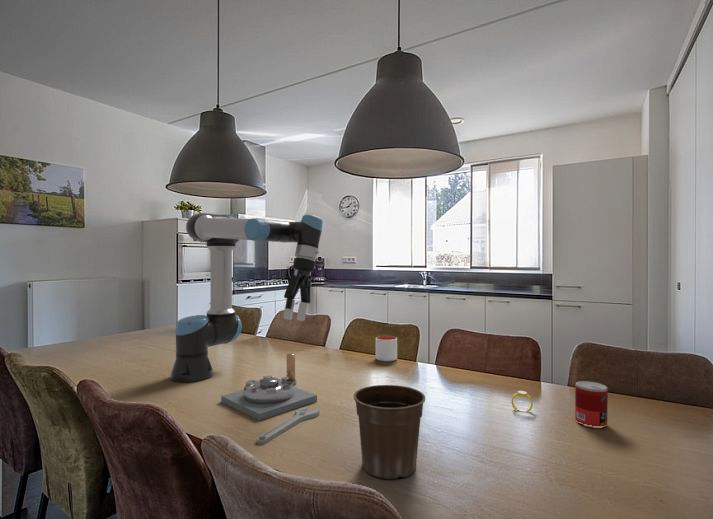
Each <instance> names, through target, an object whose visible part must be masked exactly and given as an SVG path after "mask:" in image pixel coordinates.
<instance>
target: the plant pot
mask: <svg viewBox="0 0 713 519" xmlns="http://www.w3.org/2000/svg"><path fill="white" fill-rule="evenodd" d="M353 399H354V401H355V407H356V408H355V409H356V414H357V417H358V423H359V437H360V448H361V449H360V450H361V466H362V468H364V470H365V472H366V473H367V474H369V475H371V476H373V477H375V478H379V479H383V478H384V479H383V480H396V479H397V478H399V477H401V478H404V477H405V478H407V477H409V476H411V475H412V474H413V473H414V472H416V470H417V469H416V468H417V459H418V457H417V456H418V448H419V438H420V437H419V436H420V427H421V419H422V417H423V409H424V408H423V407H424V403H425V402H426V395H425V394H424V393H423V392H421V391H420V390H419V389H415V388H412V387H408V386H404V385H396V384H395V385H393V384H377V385H370V386H369V385H368V386H366V387H362V388H359V389H358V390H356V391H354V393H353Z"/></svg>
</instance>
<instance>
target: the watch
mask: <svg viewBox="0 0 713 519" xmlns="http://www.w3.org/2000/svg"><path fill="white" fill-rule="evenodd" d="M517 396H521V397H527V398H528V399H529V400H530V403H531V404H530V406H529V408H527V409H526V410H527V411H529V412H531V410H532V409H533V404H534V403H533V399H532V397H531V395H529V394H528V392H527V391H524V390H517V391H516V392H515V393H514V394H513V395H512V396H511V397H512V398H511V406H512V408H513V409H514V410H515V411H516V410H517V409H518V407H517V406H516V405H515V403H514V399H515V397H517Z"/></svg>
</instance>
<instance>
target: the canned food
mask: <svg viewBox="0 0 713 519" xmlns="http://www.w3.org/2000/svg"><path fill="white" fill-rule="evenodd" d="M574 387H575V390H574V392H575V394H574V396H575V398H574V400H575V403H574V404H575V406H574V407H575V410H574V411H575V412H574V414H575V416H574V418H575V421H576V420H577V421H578V422H581V423H583V424H587V425H592V426H605V425H607V426H608V405H609V404H608V400H609V399H608V395H609V394H608V391H609V390H608V389H609V388H608V387H607V386H606V384H603V383H599V382H595V381H588V380H580V381H577V382H575V385H574Z"/></svg>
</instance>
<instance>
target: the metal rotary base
mask: <svg viewBox="0 0 713 519" xmlns="http://www.w3.org/2000/svg"><path fill="white" fill-rule="evenodd" d="M296 385H297V380H296V353H294V352H293V353H292V352H290V353H287V354H286V376H284V377H281V378H280V379H279V378H277V377H273V376H272V375H264V376H263V378H261V379H260V380H255V379H248V380H247V381H246V382H245V386H244V387H243V390H244V399H245V400H246V401H247V402H250V403H254V404H275V403H280V402H284V401H287V400H289V399H291V398H292V397H293V396H294V387H295V386H296Z"/></svg>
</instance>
